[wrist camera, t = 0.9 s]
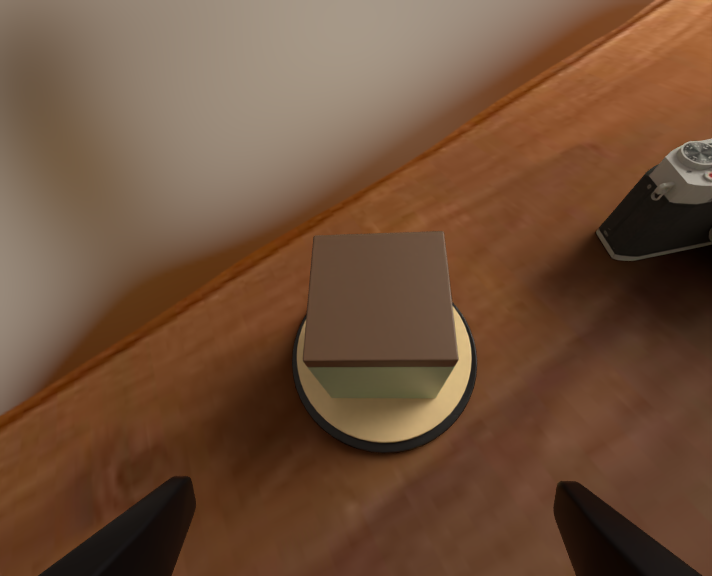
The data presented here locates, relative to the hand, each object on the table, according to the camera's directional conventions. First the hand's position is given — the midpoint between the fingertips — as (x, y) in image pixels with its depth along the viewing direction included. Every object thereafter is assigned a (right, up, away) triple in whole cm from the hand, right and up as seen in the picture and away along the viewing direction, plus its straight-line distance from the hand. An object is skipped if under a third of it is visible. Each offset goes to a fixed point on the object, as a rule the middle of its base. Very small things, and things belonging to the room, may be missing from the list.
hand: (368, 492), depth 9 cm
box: (+1, +1, +14) cm, 14 cm away
